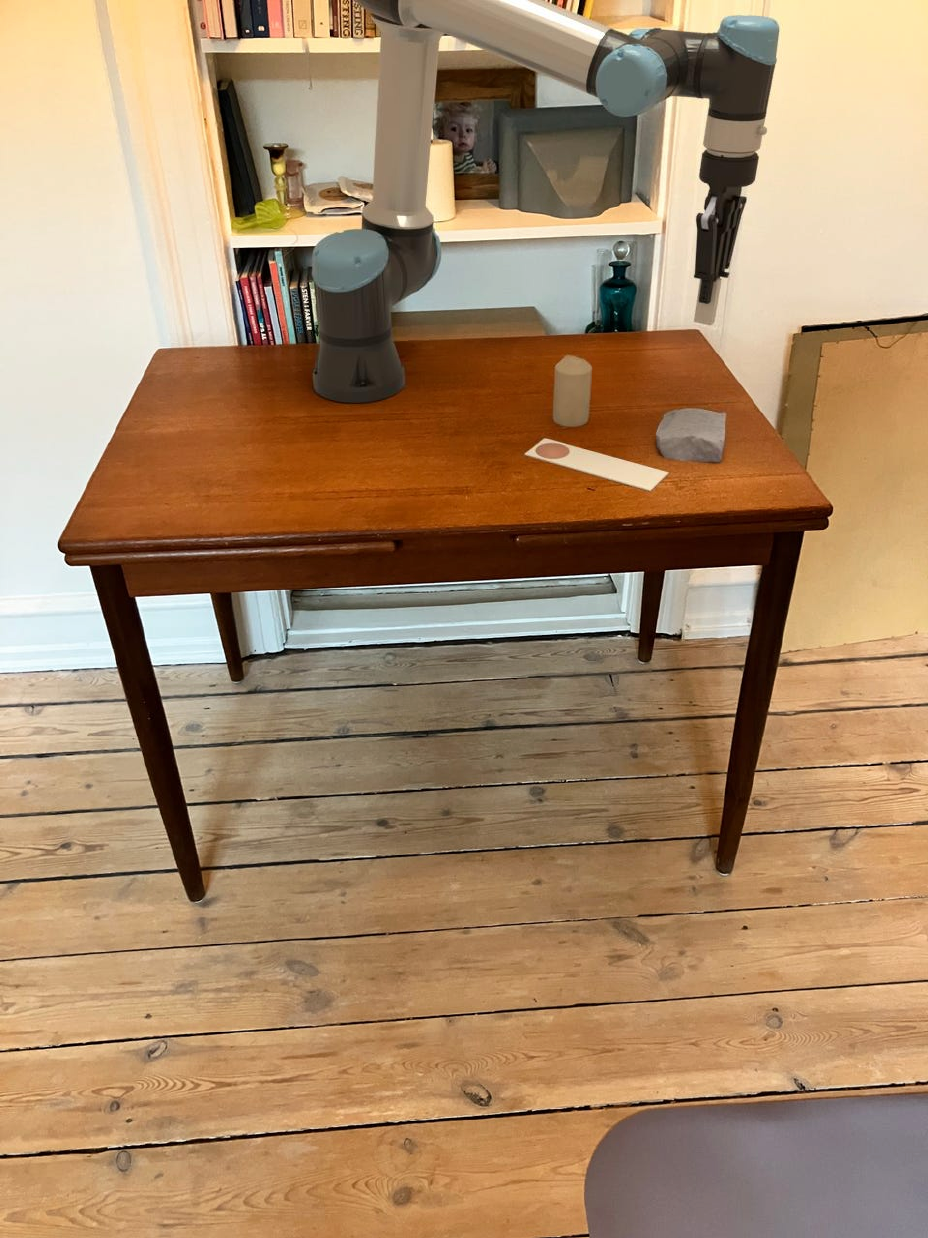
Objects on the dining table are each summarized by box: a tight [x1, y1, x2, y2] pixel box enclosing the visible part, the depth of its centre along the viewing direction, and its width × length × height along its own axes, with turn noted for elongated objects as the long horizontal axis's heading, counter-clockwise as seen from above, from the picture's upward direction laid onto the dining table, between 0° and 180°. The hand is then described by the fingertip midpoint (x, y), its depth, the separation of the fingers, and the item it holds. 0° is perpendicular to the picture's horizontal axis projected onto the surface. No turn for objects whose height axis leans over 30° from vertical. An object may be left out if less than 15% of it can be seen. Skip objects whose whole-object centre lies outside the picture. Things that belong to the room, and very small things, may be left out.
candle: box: [552, 354, 593, 428], centre depth 152 cm, size 6×6×10 cm
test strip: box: [524, 438, 670, 492], centre depth 143 cm, size 20×6×1 cm, turn 57°
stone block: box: [655, 407, 727, 464], centre depth 147 cm, size 12×5×10 cm
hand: (704, 321), depth 148 cm, fingers closed
